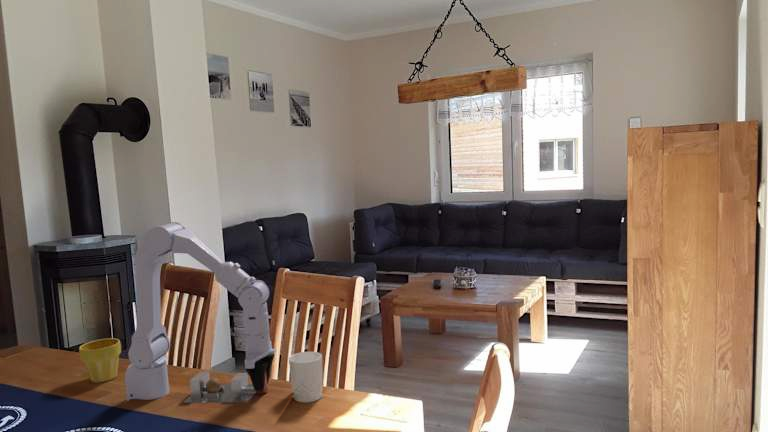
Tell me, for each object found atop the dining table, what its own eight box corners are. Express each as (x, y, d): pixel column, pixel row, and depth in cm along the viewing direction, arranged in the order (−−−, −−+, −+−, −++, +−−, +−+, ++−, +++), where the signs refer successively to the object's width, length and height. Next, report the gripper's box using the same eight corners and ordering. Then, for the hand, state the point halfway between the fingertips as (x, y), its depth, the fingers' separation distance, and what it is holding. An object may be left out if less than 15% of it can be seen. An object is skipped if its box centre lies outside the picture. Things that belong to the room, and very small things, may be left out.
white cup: (318, 404, 140) (316, 362, 139) (286, 403, 142) (283, 362, 141) (328, 391, 148) (326, 351, 147) (298, 390, 150) (295, 351, 149)
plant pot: (73, 383, 163) (69, 348, 162) (104, 370, 173) (101, 336, 172) (102, 387, 159) (98, 351, 158) (132, 373, 169) (128, 339, 168)
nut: (204, 396, 146) (202, 381, 146) (209, 390, 150) (208, 376, 149) (218, 395, 146) (217, 381, 145) (223, 390, 149) (222, 376, 149)
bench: (183, 407, 143) (181, 384, 142) (202, 389, 154) (200, 367, 153) (248, 406, 141) (246, 383, 141) (262, 388, 152) (261, 367, 151)
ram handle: (232, 395, 145) (230, 375, 144) (239, 387, 149) (237, 368, 149) (264, 395, 144) (262, 375, 143) (270, 387, 148) (268, 367, 148)
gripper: (264, 341, 137) (268, 399, 139) (281, 323, 151) (285, 375, 153) (234, 342, 138) (238, 399, 139) (254, 324, 152) (258, 376, 154)
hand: (261, 387), depth 146 cm, fingers open, 3 cm apart
